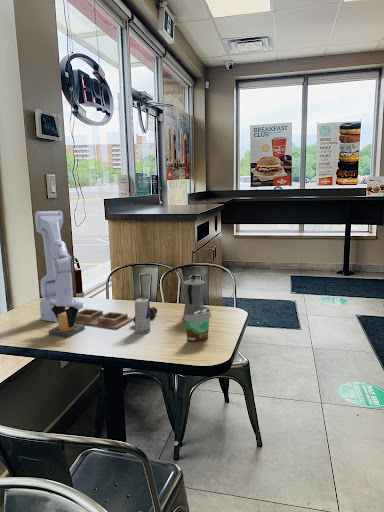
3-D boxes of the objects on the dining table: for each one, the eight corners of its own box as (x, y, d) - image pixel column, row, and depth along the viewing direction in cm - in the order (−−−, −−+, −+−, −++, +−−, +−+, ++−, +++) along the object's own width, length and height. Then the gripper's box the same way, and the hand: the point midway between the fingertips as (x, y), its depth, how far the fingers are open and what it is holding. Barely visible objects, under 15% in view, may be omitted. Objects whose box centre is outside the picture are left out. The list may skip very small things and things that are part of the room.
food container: (200, 346, 128) (199, 317, 126) (184, 342, 131) (184, 314, 130) (217, 334, 138) (217, 307, 137) (202, 331, 142) (202, 305, 140)
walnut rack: (66, 321, 154) (66, 315, 154) (85, 313, 165) (85, 307, 165) (117, 329, 145) (116, 322, 144) (134, 319, 156) (133, 313, 155)
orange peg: (59, 333, 142) (57, 314, 141) (66, 329, 145) (65, 311, 144) (67, 334, 140) (66, 315, 139) (74, 330, 144) (73, 312, 143)
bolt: (156, 319, 162) (141, 330, 148) (146, 312, 163) (130, 322, 149) (162, 308, 161) (148, 317, 147) (152, 301, 162) (137, 310, 148)
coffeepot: (186, 312, 165) (185, 271, 162) (208, 313, 163) (208, 272, 160) (177, 324, 150) (177, 279, 147) (201, 325, 148) (201, 280, 145)
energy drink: (152, 329, 144) (151, 298, 142) (146, 334, 139) (145, 302, 138) (139, 328, 146) (138, 297, 144) (133, 332, 141) (132, 301, 139)
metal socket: (48, 334, 141) (48, 330, 140) (65, 326, 149) (65, 322, 148) (68, 337, 137) (68, 333, 137) (84, 329, 145) (84, 325, 145)
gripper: (40, 290, 139) (43, 326, 142) (72, 294, 134) (75, 331, 136) (54, 286, 146) (57, 320, 148) (85, 289, 140) (87, 325, 142)
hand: (66, 325), depth 142 cm, fingers closed on orange peg, 4 cm apart
